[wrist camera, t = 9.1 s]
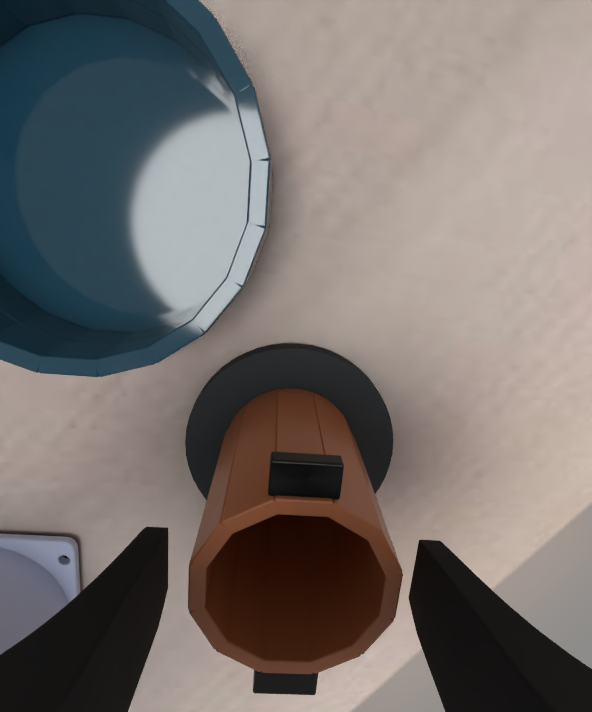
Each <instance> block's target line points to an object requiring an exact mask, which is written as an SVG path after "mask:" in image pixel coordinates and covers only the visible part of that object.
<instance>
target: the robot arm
mask: <svg viewBox="0 0 592 712" xmlns="http://www.w3.org/2000/svg"><path fill="white" fill-rule="evenodd" d="M63 555H65V556H67V557H69V559H67V558H65V557H64V556H63ZM167 589H168V528H160V527H146V528H144V529H143V530H142V531H141V532H140V533H139V534H138V535H137V537H136V538H135V539H134V540H133V541H132V542H131V543H130V544H129V545H128V546H127V547H126V548H125V549H124V551H123V552H122V553H121V554H120V555H119V556H118V557H117V558H116V559H115V560H114V561H113V562H112V563H111V564H110V565H109V566H108V567H107V568H106V569H105V570H104V571H103V572H102V573H101V574H100V575H99V576H98V577H97V578H96V579H95V580H94V581H93V582H91V583H90V584H89V585H88V586H87V587H86V588H85V589H84V590H83V591H82V592H80V574H79V557H78V545H77V542H76V541H75V540H74V539H72V538H70V537H61V536H40V535H19V534H0V712H128V709H129V707H130V704H131V701H132V698H133V696H134V693H135V690H136V687H137V684H138V682H139V679H140V676H141V673H142V671H143V668H144V665H145V662H146V660H147V657H148V654H149V651H150V649H151V646H152V643H153V640H154V637H155V635H156V632H157V629H158V626H159V622H160V618H161V614H162V610H163V606H164V602H165V598H166V594H167ZM409 601H410V606H411V610H412V614H413V619H414V623H415V627H416V631H417V635H418V638H419V640H420V643H421V646H422V649H423V652H424V654H425V657H426V660H427V663H428V666H429V668H430V671H431V674H432V676H433V679H434V682H435V684H436V687H437V690H438V692H439V695H440V698H441V701H442V703H443V706H444V709H445V712H592V669H591V668H589V667H588V666H586V665H585V664H583V663H582V662H580V661H579V660H577V659H576V658H575V657H573V656H572V655H570V654H569V653H567V652H566V651H565V650H564V649H562V648H561V647H560V646H558V645H557V644H556V643H554V642H553V641H551V640H550V639H549V638H548V637H546V636H545V635H544V634H542V633H541V632H539V631H538V630H537V629H536V628H535V627H533V626H532V625H531V624H530V623H528V622H527V621H526V620H525V619H524V618H523V617H521V616H520V615H519V614H518V613H517V612H516V611H514V610H513V609H512V608H511V607H510V606H509V605H508V604H506V603H505V602H504V601H503V600H502V599H501V598H500V597H499V596H497V595H496V594H495V593H494V592H493V591H492V590H491V589H490V588H489V587H488V586H487V585H486V584H485V583H483V582H482V581H481V580H480V579H479V578H478V577H477V576H476V575H475V574H474V573H473V572H472V571H471V570H470V569H469V568H468V567H467V566H466V565H465V564H464V563H463V562H462V561H461V560H460V559H459V558H458V557H457V556H456V555H455V554H454V553H453V552H451V551H450V550H449V549H448V548H447V547H446V546H445V545H444V544H443V543H442V542H441V541H434V540H419V545H418V550H417V555H416V561H415V566H414V572H413V577H412V582H411V588H410V593H409Z"/></svg>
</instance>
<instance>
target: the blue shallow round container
mask: <svg viewBox="0 0 592 712" xmlns="http://www.w3.org/2000/svg"><path fill="white" fill-rule="evenodd" d="M272 185H273V172H272V164H271V157H270V153H269V148H268V144H267V140H266V135H265V131H264V127H263V122H262V118H261V114H260V109H259V105H258V101H257V96H256V92H255V88H254V87H253V83H252V82H251V80H250V78H249V76H248V74H247V73H246V71H245V69H244V67H243V65H242V64H241V62H240V60H239V58H238V56H237V55H236V53H235V51H234V49H233V47H232V46H231V44H230V42H229V40H228V39H227V37H226V35H225V33H224V31H223V30H222V28H221V26H220V24H219V22H218V21H217V19H216V18H214V15H213V14H212V13H211V12H210V11H209V10H208V9H207V8H206V7H205V6H204V5H203V4H202V3H201V2H200V1H199V0H0V360H3V361H6V362H9V363H11V364H14V365H17V366H20V367H23V368H25V369H28V370H31V371H34V372H37V373H38V372H39V373H46V374H61V375H76V376H90V377H102V376H107V375H111V374H115V373H119V372H124V371H128V370H132V369H136V368H140V367H145V366H149V365H153V364H155V363H158V362H160V361H162V360H163V359H165V358H166V357H168V356H170V355H171V354H173V353H175V352H176V351H178V350H179V349H181V348H183V347H184V346H186V345H188V344H189V343H191V342H192V341H194V340H196V339H197V338H199V337H201V336H202V335H204V334H205V333H206V332H207V331H208V330H209V329H210V328H211V326H212V325H213V324H214V323H215V321H216V320H217V319H218V318H219V317H220V315H221V314H222V313H223V312H224V311H225V309H226V308H227V307H228V306H229V305H230V303H231V302H232V301H233V300H234V298H235V297H236V296H237V295H238V294H239V292H240V291H241V290H242V289H243V287H244V286H245V284H246V283H247V281H248V280H249V278H250V276H251V275H252V273H253V270H254V268H255V265H256V263H257V260H258V257H259V255H260V252H261V250H262V247H263V245H264V242H265V239H266V237H267V234H268V232H269V229H268V228H270V216H271V205H272Z"/></svg>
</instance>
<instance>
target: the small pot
mask: <svg viewBox="0 0 592 712" xmlns="http://www.w3.org/2000/svg"><path fill="white" fill-rule="evenodd" d="M402 576H403V574H402V569H401V566H400V563H399V561H398V558H397V555H396V552H395V549H394V546H393V544H392V541H391V538H390V535H389V532H388V530H387V527H386V524H385V521H384V518H383V516H382V513H381V510H380V507H379V504H378V502H377V499H376V496H375V493H374V490H373V488H372V485H371V482H370V479H369V476H368V474H367V471H366V468H365V465H364V462H363V460H362V457H361V454H360V451H359V448H358V446H357V443H356V440H355V438H354V436H353V434H352V432H351V430H350V427H349V425H348V422H347V420H346V419H345V417H344V415H343V414H342V413H341V411H340V410H339V409H338V408H337V407H336V406H335V405H334V404H333V403H331V402H330V401H329V400H327V399H326V398H324V397H322V396H320V395H318V394H316V393H313V392H311V391H307V390H302V389H295V388H285V389H277V390H273V391H269V392H266V393H264V394H261V395H259V396H257V397H256V398H254V399H252V400H251V401H249V402H248V403H247V404H246V405H245V406H243V407H242V408H241V409H240V411H239V412H238V413H237V414H236V415H235V417H234V419H233V420H232V422H231V424H230V427H229V429H228V430H227V431H226V433H225V436H224V440H223V443H222V447H221V451H220V454H219V458H218V461H217V465H216V469H215V472H214V476H213V480H212V483H211V487H210V491H209V494H208V498H207V502H206V505H205V509H204V513H203V516H202V520H201V523H200V527H199V531H198V534H197V538H196V542H195V545H194V549H193V553H192V556H191V560H190V564H189V588H188V609H189V613H190V614H191V616H192V617H193V619H194V620H195V622H196V623H197V625H198V626H199V628H200V629H201V630H202V632H203V633H204V635H205V636H206V638H207V639H208V641H209V642H210V644H211V645H212V647H213V648H214V649H216V651H217V652H220V653H222V654H224V655H226V656H228V657H230V658H232V659H234V660H236V661H238V662H240V663H242V664H244V665H246V666H248V667H250V668H252V669H254V680H253V692H254V693H265V694H299V695H315V693H316V686H317V678H318V672H321V671H323V670H326V669H328V668H331V667H334V666H336V665H339V664H341V663H344V662H346V661H349V660H351V659H354V658H356V657H359V656H360V655H361V654H364V653H365V651H366V650H367V649H368V648H369V647H370V646H371V645H372V644H373V643H374V642H375V640H376V639H377V638H378V637H379V636H380V635H381V634H382V633H383V632H384V631H385V630H386V628H387V627H388V626H389V625H390V624H391V623H392V622H393V620H394V618H395V615H396V610H397V604H398V599H399V593H400V587H401V582H402Z"/></svg>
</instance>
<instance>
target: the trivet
mask: <svg viewBox="0 0 592 712" xmlns="http://www.w3.org/2000/svg"><path fill="white" fill-rule="evenodd" d="M285 388H295V389H302V390H307V391H311V392H313V393H316V394H318V395H320V396H322V397H324V398H326V399H327V400H329V401H330V402H331V403H333V404H334V405H335V406H336V407H337V408H338V409H339V410H340V411H341V413H342V414H343V415H344V417H345V419H346V420H347V422H348V425H349V427H350V430H351V432H352V434H353V436H354V438H355V440H356V443H357V446H358V448H359V451H360V454H361V457H362V460H363V462H364V465H365V468H366V471H367V474H368V476H369V479H370V482H371V485H372V488H373V490H374V493H376V492H377V490H378V489H379V487H380V486H381V484H382V482H383V480H384V478H385V476H386V473H387V471H388V468H389V465H390V461H391V456H392V449H393V431H392V425H391V420H390V416H389V413H388V411H387V408H386V405H385V403H384V401H383V400H382V398H381V396H380V394H379V392H378V391H377V389H376V388H375V386H374V385H373V383H372V382H371V381H370V379H369V378H368V377H367V376H366V375H365V374H364V373H363V372H362V371H361V370H360V369H359V368H358V367H356V366H355V365H354V364H352V363H351V362H350V361H348V360H347V359H345V358H343V357H341V356H340V355H338V354H336V353H333V352H331V351H328V350H326V349H323V348H319V347H315V346H311V345H304V344H277V345H270V346H266V347H261V348H257V349H255V350H252V351H250V352H247V353H245V354H243V355H241V356H239V357H237V358H235V359H233V360H232V361H230V362H229V363H228V364H226V365H225V366H224V367H222V368H221V369H220V370H219V371H218V372H217V373H216V374H215V375H214V376H213V377H212V378H211V379H210V380H209V382H208V383H207V384H206V385H205V387H204V388H203V390H202V391H201V393H200V395H199V397H198V398H197V400H196V402H195V404H194V407H193V409H192V412H191V414H190V417H189V421H188V425H187V430H186V441H185V442H186V456H187V460H188V465H189V468H190V471H191V474H192V477H193V479H194V481H195V483H196V485H197V487H198V489H199V490H200V491H201V493H202V494H203V496H204V497H205V499H206V500H207V498H208V494H209V491H210V487H211V483H212V480H213V476H214V472H215V469H216V465H217V461H218V458H219V454H220V451H221V447H222V443H223V440H224V436H225V433H226V431H227V430H228V429H229V427H230V424H231V422H232V420H233V419H234V417H235V415H236V414H237V413H238V412H239V411H240V409H241V408H242V407H243V406H245V405H246V404H247V403H248V402H249V401H251V400H252V399H254V398H256V397H257V396H259V395H261V394H264V393H266V392H269V391H273V390H277V389H285Z"/></svg>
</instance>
